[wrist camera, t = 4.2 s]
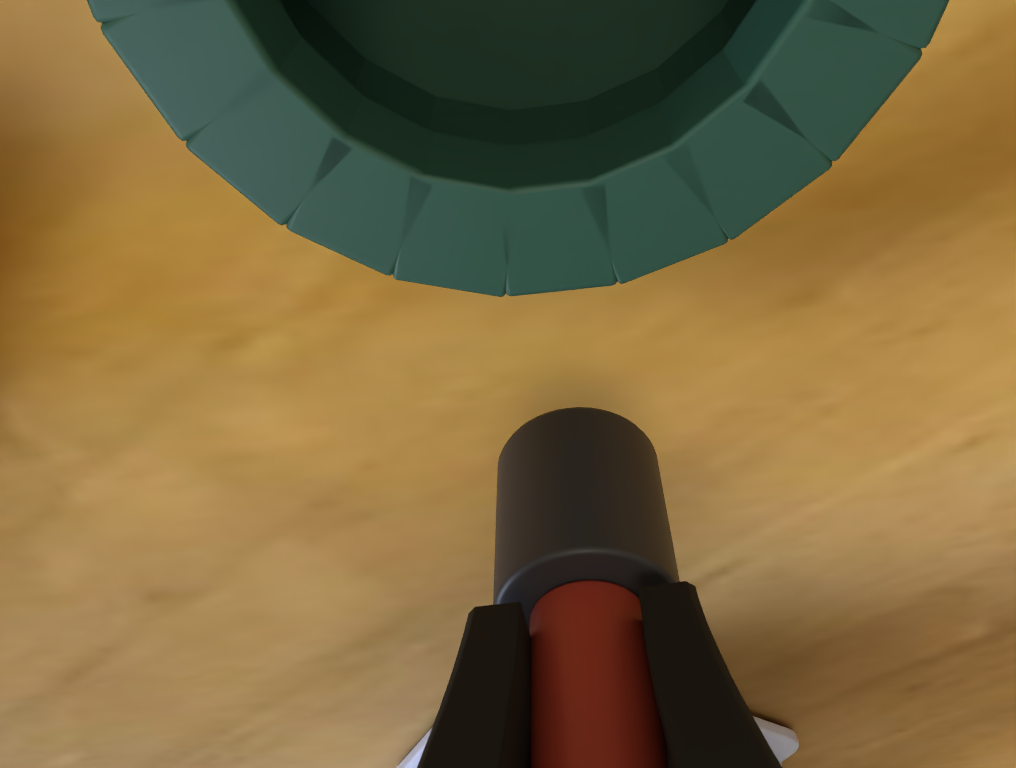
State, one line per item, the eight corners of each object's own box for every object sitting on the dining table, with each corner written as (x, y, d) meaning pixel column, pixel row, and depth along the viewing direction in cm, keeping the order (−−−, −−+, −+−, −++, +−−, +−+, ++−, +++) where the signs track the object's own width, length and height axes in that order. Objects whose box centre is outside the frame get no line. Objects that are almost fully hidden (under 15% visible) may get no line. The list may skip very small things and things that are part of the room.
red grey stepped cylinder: (688, 443, 14) (826, 1042, 8) (602, 541, 16) (658, 1117, 9) (548, 380, 13) (572, 983, 7) (470, 489, 15) (431, 1074, 8)
